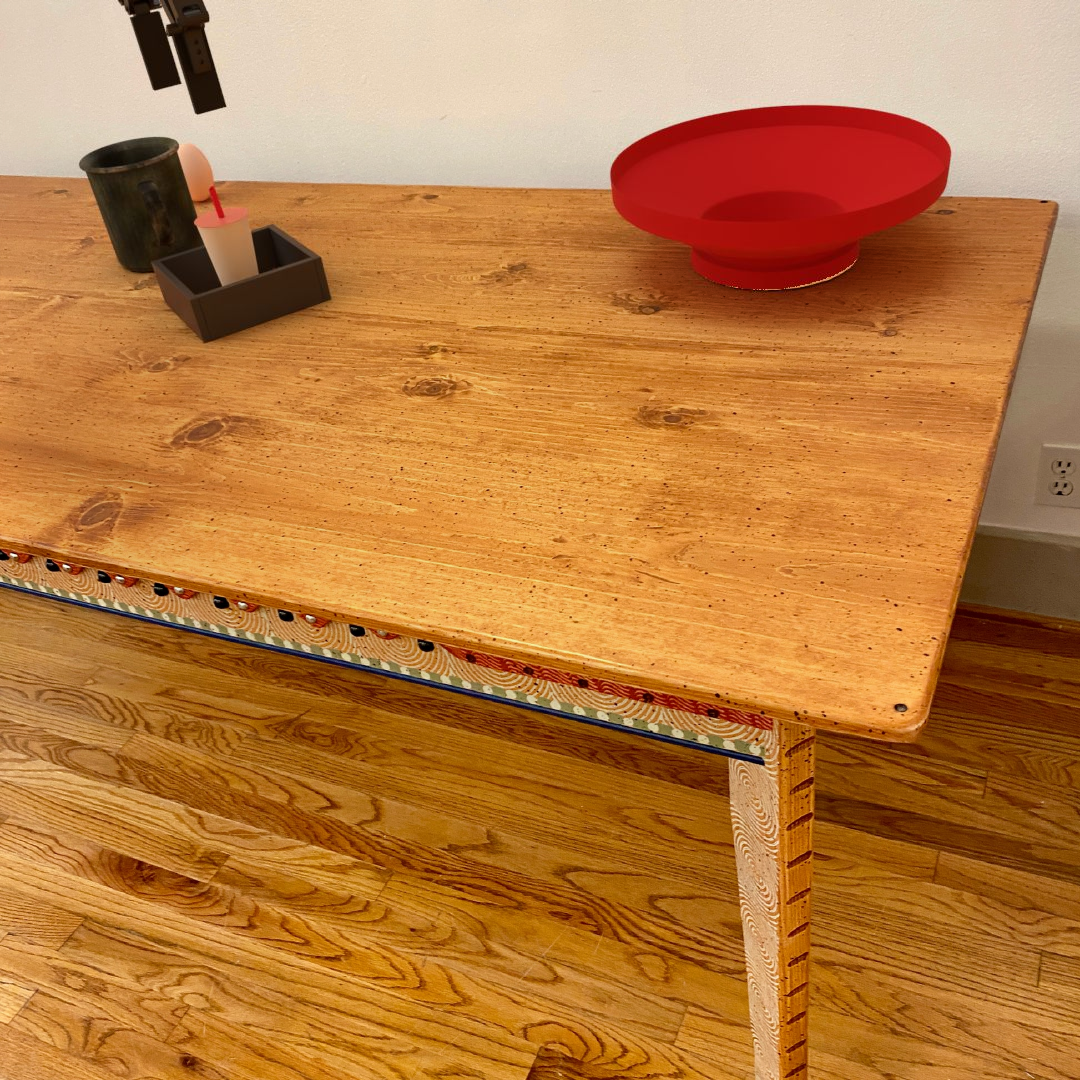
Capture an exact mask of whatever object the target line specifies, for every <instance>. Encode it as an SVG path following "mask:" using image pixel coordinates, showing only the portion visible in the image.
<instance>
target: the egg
mask: <svg viewBox="0 0 1080 1080" xmlns="http://www.w3.org/2000/svg"><path fill="white" fill-rule="evenodd" d="M177 152H178V156H179V159H180V162H181V165H182V169H183V172H184V175H185V178H186V182H187V185H188V188H189V191H190V194H191V198H192V201H195V202H203V201H206V200H207V199H209V197H211V195H210V193H209V188H210V187H211V186H214V183H215V180H214V173H213V169H212V166H211V164H210V162H209V159H208V158H207V157H206V156H205V154H204V153H203V152H202V150H201V149H200V148H199V147H197V146H196V145H195V144H193V143H191V142H182V143H181V144H179V149H178V151H177Z"/></svg>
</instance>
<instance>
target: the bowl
mask: <svg viewBox="0 0 1080 1080" xmlns="http://www.w3.org/2000/svg"><path fill="white" fill-rule="evenodd" d="M951 159H952V149H951V144H950V143H949V142H948V140H947V139H946V137H945V136H943V134H941V133H940V132H939V131H937V130H936V129H934V128H933V127H931V126H929V125H928V124H926V123H923V122H921V121H919V120H916V119H913V118H910V117H907V116H904V115H901V114H897V113H893V112H889V111H884V110H878V109H872V108H867V107H866V108H865V107H857V106H845V105H833V104H832V105H830V104H829V105H828V104H794V105H791V104H790V105H774V106H762V107H761V106H760V107H752V108H745V109H737V110H730V111H725V112H717V113H714V114H709V115H703V116H700V117H697V118H692V119H689V120H685V121H682V122H678V123H676V124H672V125H669V126H666V127H664V128H661V129H658V130H656V131H653V132H651V133H649V134H647V135H645V136H643V137H641V138H640V139H638V140H636V141H634V142H632V143H631V144H630V145H628V146H627V147H625V148H624V149H623V150H622V151H621V152H620V153H619V154H617V156H616V158H615V159H614V160H613V161H612V163H611V167H610V170H609V177H610V179H609V180H610V186H611V187H610V188H611V197H612V198H611V199H612V203H613V207H614V208H615V211H616V212H617V213H618V214H619V215H620V216H621V217H622V219H623V220H625V221H626V222H628V223H629V224H631V225H632V226H634V227H635V228H637V229H639V230H641V231H644V232H646V233H647V234H651V235H654V236H656V237H659V238H663V239H667V240H670V241H674V242H680V243H683V244H685V245H686V246H688V247H690V264H691V267H692V269H693V270H694V271H695V273H697V274H698V275H699V274H700V275H699V276H701V275H702V276H703V277H706V278H707V279H708V280H711V281H714V282H717V283H718V284H717V283H716V284H717V285H720V284H724V285H727V286H731V287H732V286H733V287H738V288H741V289H740V290H743V289H752V290H751V291H753V289H755V290H757V289H758V290H759V289H761V290H763V289H764V290H765V289H784V288H785V289H786V288H788V287H789V288H790V287H795V286H796V287H797V286H800V285H805V284H810V283H812V282H816V281H820V280H823V279H826V278H827V277H831V276H834V275H835V274H838V273H839V272H841V271H843V270H845V269H846V268H847V267H849V266H850V265H852V264H853V263H854V261H855V260H856V259H857V258H858V255H859V256H860V254H859V252H861V251H860V240H862V239H863V238H865V237H867V236H869V235H871V234H874V233H877V232H881V231H884V230H886V229H889V228H892V227H895V226H899V225H900V224H902V223H905V222H907V221H909V220H911V219H913V218H915V217H916V216H918V215H920V214H922V213H924V212H925V211H926V210H928V209H929V208H930V207H931V206H933V205H934V204H935V203H936V202H937V201H938V200H939V199H940V198H941V197H942V195H943V194H944V192H945V190H946V189H947V184H948V181H949V173H950V166H951ZM858 259H859V258H858ZM702 276H701V277H702ZM703 277H702V278H703ZM708 280H707V281H708ZM711 281H710V282H711ZM714 282H713V283H714ZM727 286H726V287H727ZM742 288H743V289H742Z"/></svg>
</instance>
